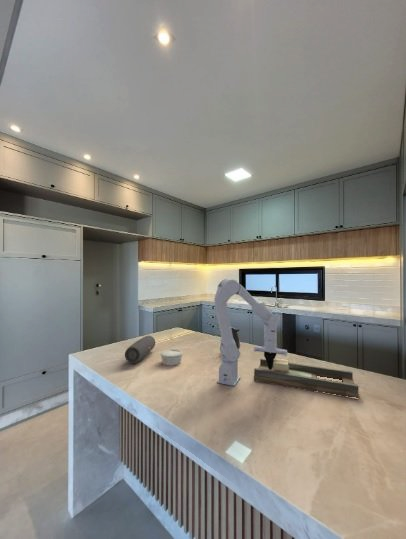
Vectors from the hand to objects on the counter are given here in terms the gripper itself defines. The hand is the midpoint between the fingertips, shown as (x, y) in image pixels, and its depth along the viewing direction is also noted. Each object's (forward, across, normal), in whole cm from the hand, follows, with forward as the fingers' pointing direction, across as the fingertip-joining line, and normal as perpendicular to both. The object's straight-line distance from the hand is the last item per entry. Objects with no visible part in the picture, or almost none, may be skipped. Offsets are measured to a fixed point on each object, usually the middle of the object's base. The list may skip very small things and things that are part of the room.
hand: (270, 368), depth 111 cm
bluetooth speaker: (+3, +69, +6) cm, 69 cm away
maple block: (+1, -5, 0) cm, 5 cm away
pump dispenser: (+3, +26, -23) cm, 35 cm away
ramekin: (+3, +50, +5) cm, 50 cm away
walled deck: (+3, -14, 0) cm, 14 cm away
